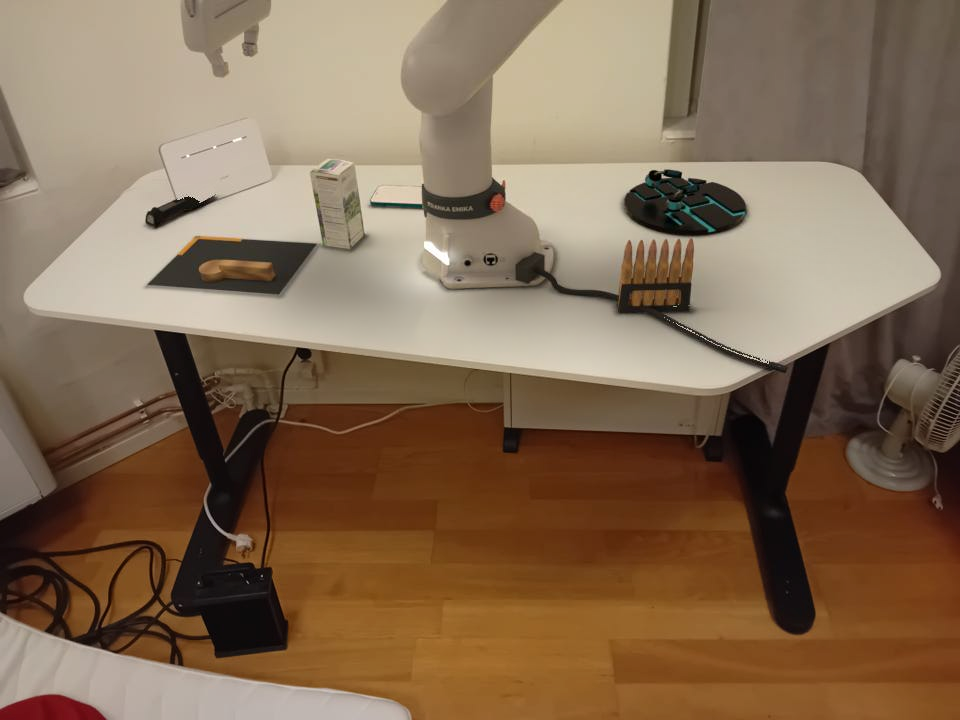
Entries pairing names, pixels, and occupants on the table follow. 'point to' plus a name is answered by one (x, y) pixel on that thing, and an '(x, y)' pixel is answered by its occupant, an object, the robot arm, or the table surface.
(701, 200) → the platform
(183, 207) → the electric trimmer
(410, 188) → the smartphone
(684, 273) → the ammunition clip
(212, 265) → the orange wooden ladle
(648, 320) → the table surface
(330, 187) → the syrup box
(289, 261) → the mat
